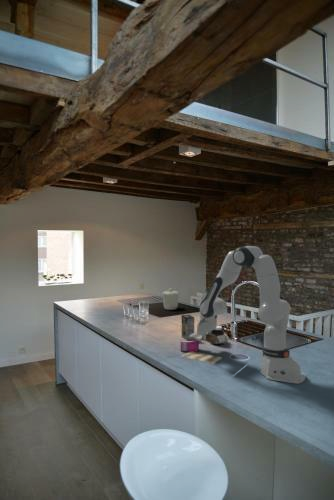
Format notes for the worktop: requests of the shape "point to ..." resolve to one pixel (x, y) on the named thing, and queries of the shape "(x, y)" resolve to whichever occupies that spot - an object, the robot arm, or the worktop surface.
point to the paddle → (200, 337)
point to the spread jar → (219, 335)
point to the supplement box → (189, 345)
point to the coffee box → (187, 326)
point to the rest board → (202, 357)
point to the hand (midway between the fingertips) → (206, 338)
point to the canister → (170, 299)
